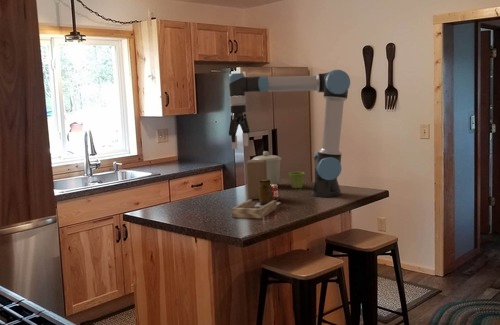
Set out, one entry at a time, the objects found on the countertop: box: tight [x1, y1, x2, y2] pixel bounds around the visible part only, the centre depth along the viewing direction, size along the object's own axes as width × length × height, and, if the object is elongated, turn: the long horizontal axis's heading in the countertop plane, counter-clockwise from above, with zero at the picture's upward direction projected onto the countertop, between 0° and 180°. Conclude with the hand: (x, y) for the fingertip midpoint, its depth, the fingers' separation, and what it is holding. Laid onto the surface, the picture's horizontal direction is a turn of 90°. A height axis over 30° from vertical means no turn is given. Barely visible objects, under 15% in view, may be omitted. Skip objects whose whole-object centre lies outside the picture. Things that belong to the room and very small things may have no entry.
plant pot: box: [288, 171, 306, 189], centre depth 300 cm, size 9×9×9 cm
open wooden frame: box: [231, 199, 277, 219], centre depth 242 cm, size 14×20×4 cm
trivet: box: [254, 201, 282, 208], centre depth 257 cm, size 10×10×1 cm
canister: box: [250, 150, 282, 185], centre depth 311 cm, size 18×18×21 cm
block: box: [245, 159, 267, 200], centre depth 276 cm, size 10×10×20 cm
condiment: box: [256, 179, 273, 206], centre depth 256 cm, size 7×8×12 cm
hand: (240, 147), depth 261 cm, fingers open, 13 cm apart
